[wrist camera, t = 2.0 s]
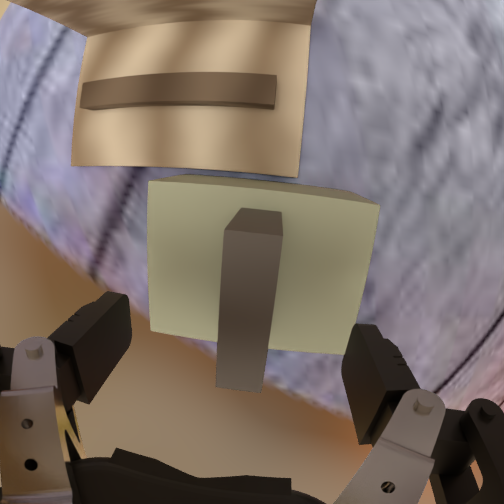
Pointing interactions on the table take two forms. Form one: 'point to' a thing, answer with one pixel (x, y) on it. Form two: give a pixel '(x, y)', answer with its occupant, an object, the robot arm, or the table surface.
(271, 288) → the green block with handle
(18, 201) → the table surface
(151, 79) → the wooden stand
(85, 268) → the table surface
